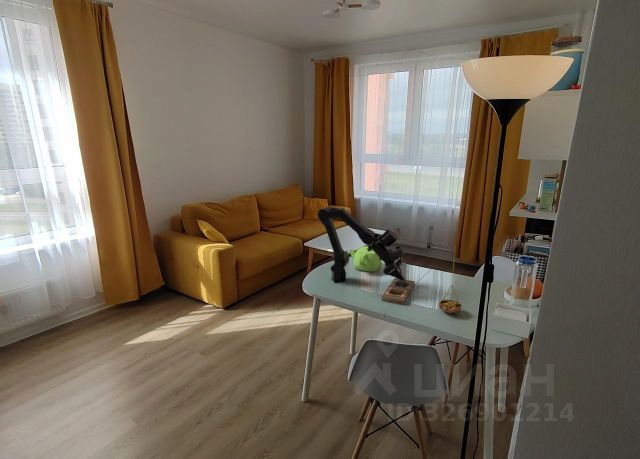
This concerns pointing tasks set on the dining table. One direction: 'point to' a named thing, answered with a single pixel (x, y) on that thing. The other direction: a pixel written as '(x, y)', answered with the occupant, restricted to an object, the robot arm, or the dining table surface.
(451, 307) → the bird feeder
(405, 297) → the brown flat block
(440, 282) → the dining table surface
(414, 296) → the dining table surface
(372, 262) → the teapot
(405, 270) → the peg
